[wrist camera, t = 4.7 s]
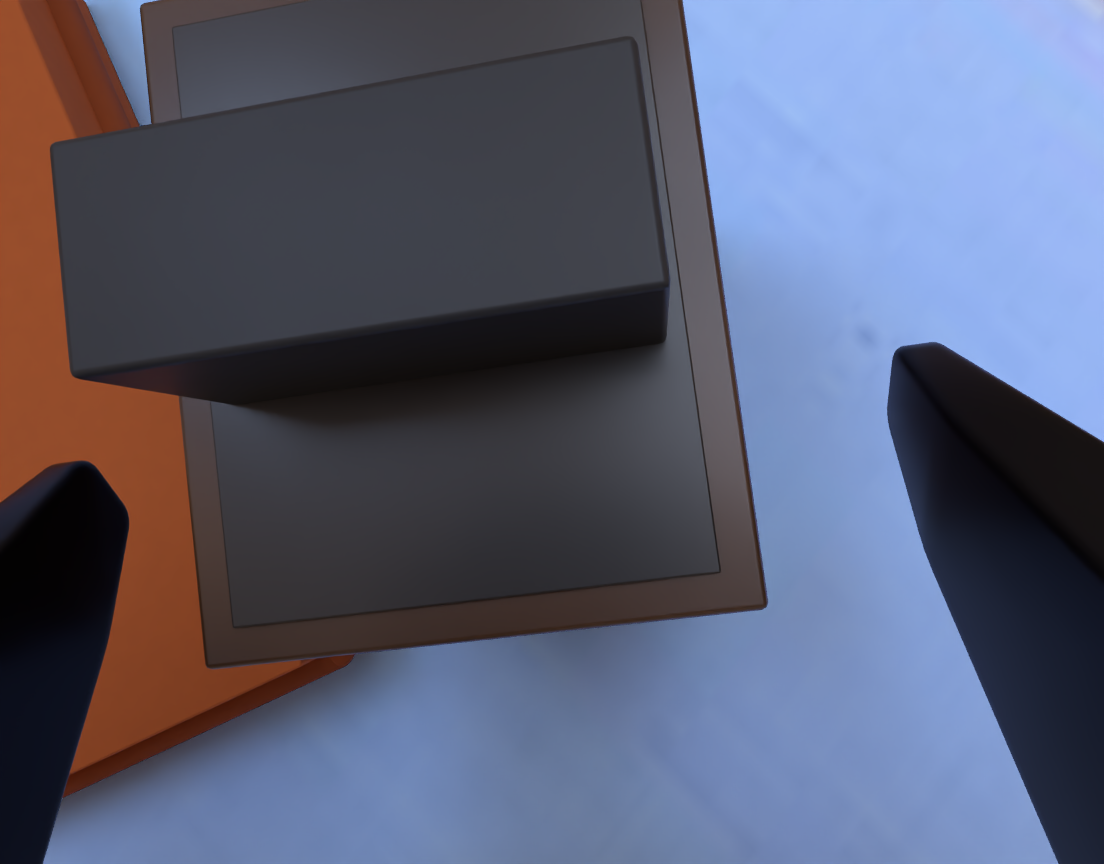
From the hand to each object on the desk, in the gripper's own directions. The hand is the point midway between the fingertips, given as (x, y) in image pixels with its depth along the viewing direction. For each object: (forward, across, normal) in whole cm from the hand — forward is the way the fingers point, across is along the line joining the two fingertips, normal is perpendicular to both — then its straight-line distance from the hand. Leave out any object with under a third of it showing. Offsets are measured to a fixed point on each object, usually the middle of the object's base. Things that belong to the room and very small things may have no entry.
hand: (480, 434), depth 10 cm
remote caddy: (+7, 0, +5) cm, 9 cm away
